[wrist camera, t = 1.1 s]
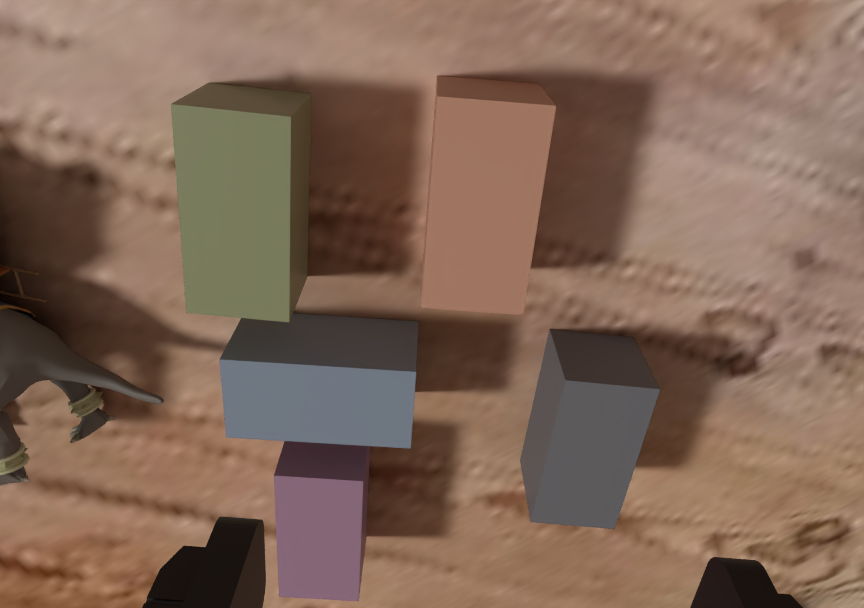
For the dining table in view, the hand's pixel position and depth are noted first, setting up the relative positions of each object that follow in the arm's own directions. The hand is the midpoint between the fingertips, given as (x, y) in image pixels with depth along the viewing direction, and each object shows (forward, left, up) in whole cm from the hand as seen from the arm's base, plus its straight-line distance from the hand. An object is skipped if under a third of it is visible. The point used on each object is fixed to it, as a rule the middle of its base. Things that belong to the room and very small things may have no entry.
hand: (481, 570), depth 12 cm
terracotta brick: (-2, +1, -19) cm, 19 cm away
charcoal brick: (+9, +7, -19) cm, 22 cm away
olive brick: (-1, -8, -19) cm, 21 cm away
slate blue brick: (+7, -5, -19) cm, 21 cm away
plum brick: (+15, -5, -19) cm, 25 cm away
